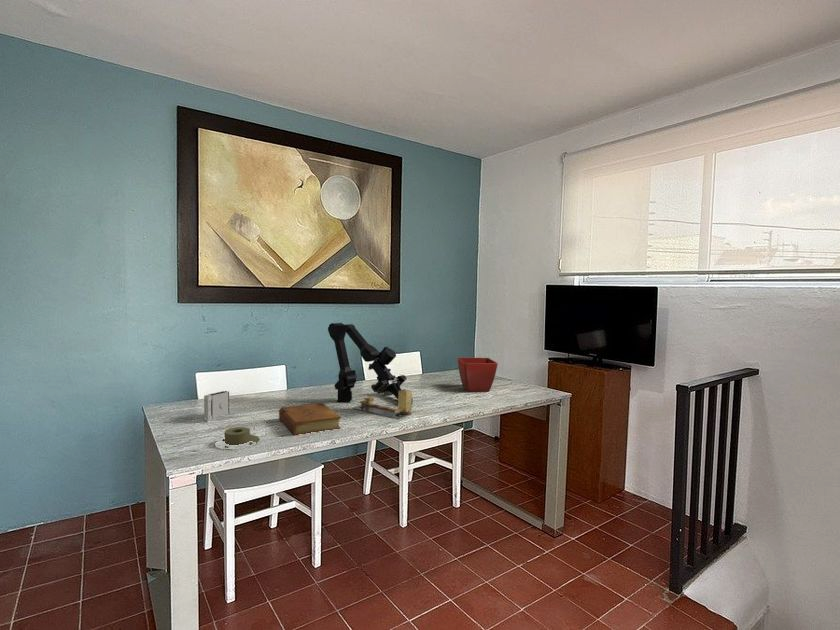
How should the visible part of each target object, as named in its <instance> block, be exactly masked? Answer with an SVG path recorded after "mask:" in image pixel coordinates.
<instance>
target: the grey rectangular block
mask: <svg viewBox="0 0 840 630" xmlns="http://www.w3.org/2000/svg"><path fill="white" fill-rule="evenodd" d="M203 399H204V400H203V409H204V410H203V411H204V412H203V414H204V415H203V418H206V420H205V421H209V420H210V419H211V418H214V417H218V416H221V415H225V414H228V413H229V414H230V391H228V390H225V391H224V390H222V391H218V392H212V393H208V394H205V395H204V396H203ZM229 414H228V415H229ZM209 422H210V421H209Z"/></svg>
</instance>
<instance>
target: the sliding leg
mask: <svg viewBox="0 0 840 630" xmlns="http://www.w3.org/2000/svg"><path fill="white" fill-rule="evenodd" d="M412 399H413V390H411V389H402V390H400V391H399V394H398V399H397V400H398V402H397V403H398V404H397V406H398V407H397V409H398V410H395V412H394V413H398V415H399V412H400V411H401V412H409V411H410V412H412V411H413V404H412Z"/></svg>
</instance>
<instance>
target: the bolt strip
mask: <svg viewBox="0 0 840 630" xmlns="http://www.w3.org/2000/svg"><path fill="white" fill-rule="evenodd" d="M355 409H356V411H361V412H364V411H365V413H369V414H374V415H377V416H378V415H379V416H383V417H388V418H392V419H396V420H400V419H403V418H406V417H409V415H408V414H403V413H399V415H398V413H394V411H389V410H385V409H380V408H375V407H371V406H366V405H363V407H361V404H360V405H357V406H354V407H352V410H355Z"/></svg>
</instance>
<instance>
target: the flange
mask: <svg viewBox="0 0 840 630" xmlns="http://www.w3.org/2000/svg"><path fill="white" fill-rule="evenodd" d="M223 432H224V437H225V443H226V444H229V445H239V444H244V443H247V442H249V441H253V442H256V443H257V442H258V441H259V440H260V439H261V438H260V437H259V436H257V435H254V434H251V429H250V428H249V427H244V426H241V427H239V426H238V427H232V428H228V429H226V430H225V431H223ZM259 442H260V441H259Z"/></svg>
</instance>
